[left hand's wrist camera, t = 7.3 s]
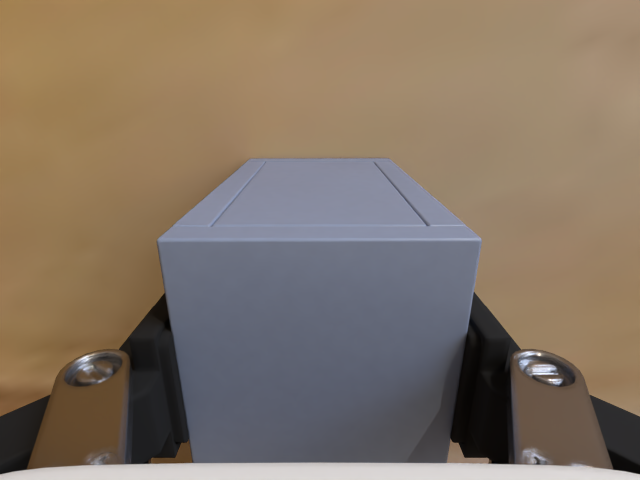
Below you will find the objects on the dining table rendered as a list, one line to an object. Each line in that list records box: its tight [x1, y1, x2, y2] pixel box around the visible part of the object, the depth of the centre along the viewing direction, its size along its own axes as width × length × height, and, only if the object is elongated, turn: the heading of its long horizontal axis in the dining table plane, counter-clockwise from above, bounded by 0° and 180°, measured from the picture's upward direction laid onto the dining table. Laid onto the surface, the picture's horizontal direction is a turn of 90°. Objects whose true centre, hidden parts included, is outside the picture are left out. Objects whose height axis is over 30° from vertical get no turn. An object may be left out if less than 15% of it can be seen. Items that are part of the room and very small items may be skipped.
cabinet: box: [157, 158, 482, 463], centre depth 15 cm, size 19×6×10 cm, turn 0°
